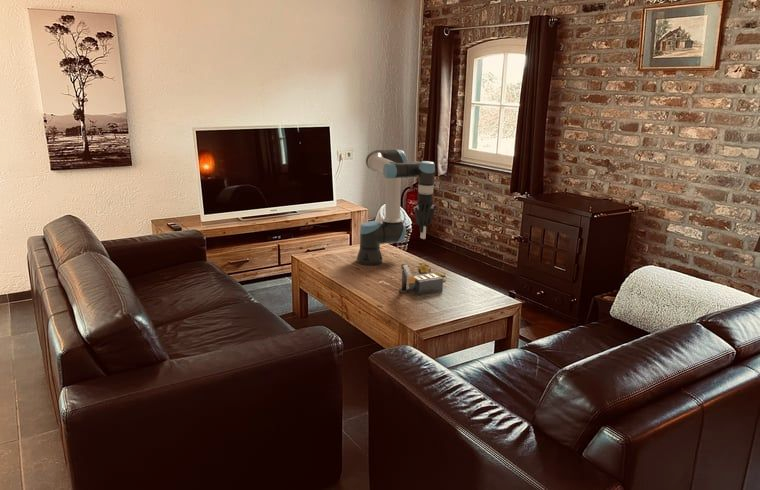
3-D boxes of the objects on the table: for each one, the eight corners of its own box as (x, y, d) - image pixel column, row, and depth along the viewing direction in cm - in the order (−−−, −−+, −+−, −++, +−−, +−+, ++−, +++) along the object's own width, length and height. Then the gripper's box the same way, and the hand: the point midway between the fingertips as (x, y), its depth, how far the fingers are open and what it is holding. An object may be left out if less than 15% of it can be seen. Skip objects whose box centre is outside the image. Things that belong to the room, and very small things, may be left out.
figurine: (446, 281, 310) (427, 260, 307) (432, 291, 312) (414, 271, 310) (445, 274, 321) (428, 253, 319) (432, 284, 324) (415, 264, 322)
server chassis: (408, 289, 298) (409, 275, 296) (431, 285, 305) (432, 271, 302) (418, 295, 290) (419, 281, 288) (442, 291, 296) (443, 277, 294)
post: (397, 290, 296) (397, 269, 293) (405, 289, 298) (406, 268, 295) (402, 293, 291) (402, 272, 288) (410, 292, 294) (411, 271, 291)
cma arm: (407, 268, 293) (407, 263, 293) (416, 283, 272) (416, 278, 271) (400, 268, 293) (400, 263, 292) (408, 283, 271) (408, 278, 271)
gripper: (432, 190, 297) (429, 234, 304) (410, 192, 291) (408, 237, 298) (440, 193, 290) (437, 238, 297) (418, 195, 284) (415, 241, 291)
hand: (422, 238), depth 298 cm, fingers closed
